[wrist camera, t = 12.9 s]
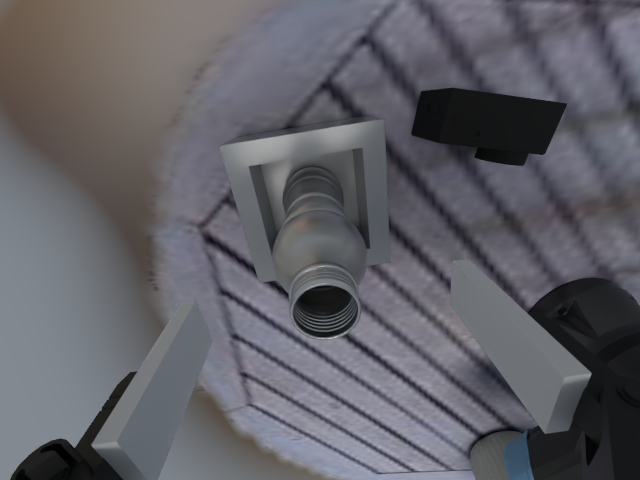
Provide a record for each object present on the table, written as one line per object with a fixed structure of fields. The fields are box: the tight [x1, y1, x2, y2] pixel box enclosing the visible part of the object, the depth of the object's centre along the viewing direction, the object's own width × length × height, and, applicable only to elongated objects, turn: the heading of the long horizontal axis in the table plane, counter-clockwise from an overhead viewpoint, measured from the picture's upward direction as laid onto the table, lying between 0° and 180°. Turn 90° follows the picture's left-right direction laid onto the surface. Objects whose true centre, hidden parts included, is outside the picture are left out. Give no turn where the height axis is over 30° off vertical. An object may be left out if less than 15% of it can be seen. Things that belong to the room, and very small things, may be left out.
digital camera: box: [411, 88, 567, 166], centre depth 27 cm, size 10×5×7 cm, turn 84°
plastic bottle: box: [272, 167, 367, 340], centre depth 23 cm, size 6×7×20 cm
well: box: [219, 116, 390, 283], centre depth 29 cm, size 14×14×7 cm
